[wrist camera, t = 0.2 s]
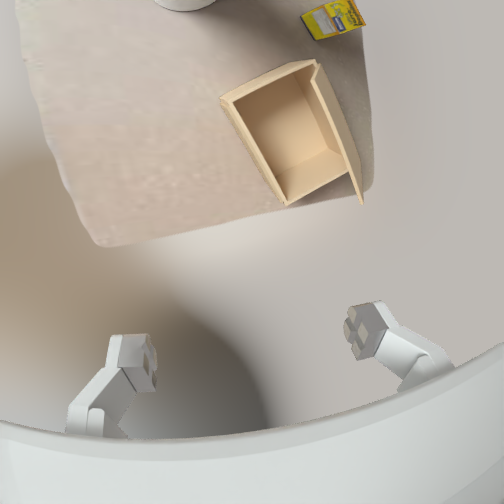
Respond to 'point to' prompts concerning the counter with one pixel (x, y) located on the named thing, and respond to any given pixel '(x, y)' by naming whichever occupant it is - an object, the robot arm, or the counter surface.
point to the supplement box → (333, 19)
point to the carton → (286, 130)
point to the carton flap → (339, 127)
